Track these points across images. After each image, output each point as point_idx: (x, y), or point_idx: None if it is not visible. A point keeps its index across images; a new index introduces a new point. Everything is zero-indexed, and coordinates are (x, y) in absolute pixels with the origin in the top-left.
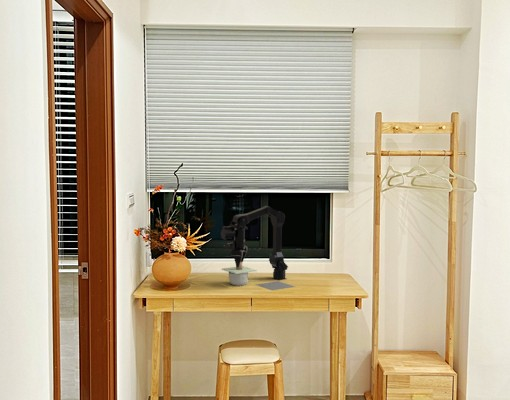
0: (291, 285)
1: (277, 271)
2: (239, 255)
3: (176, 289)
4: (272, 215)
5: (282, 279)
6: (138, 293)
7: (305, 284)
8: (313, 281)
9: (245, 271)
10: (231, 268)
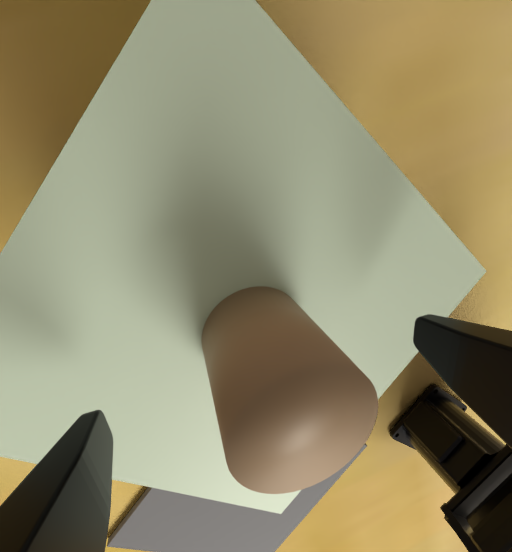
0: (282, 539)
1: (446, 473)
2: None
3: None
4: None
5: (407, 445)
6: None
7: (339, 547)
8: (401, 535)
9: (132, 479)
10: (285, 184)
